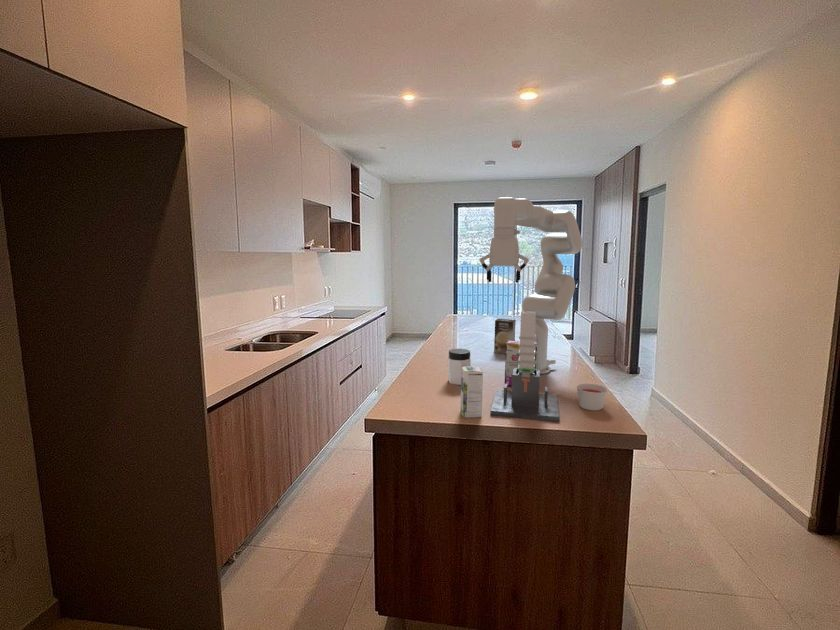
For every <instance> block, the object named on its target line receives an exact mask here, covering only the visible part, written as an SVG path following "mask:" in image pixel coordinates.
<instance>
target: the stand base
mask: <svg viewBox="0 0 840 630" xmlns="http://www.w3.org/2000/svg"><path fill="white" fill-rule="evenodd" d="M518 372H519V371H518V368H514V370H513V374H512V386H511V390H508V386H507V384H505V383H504V387H503V390H501V389H496V390H495V395H494V399H493V402H492V404H491V408H490V416H495V417H504V418H513V419H514V418H516V419H523V420H535V421H544V422H545V421H547V422H555V423H557V422H558V423H560V412H559V404H558V395H557V394H552V393H551V394H549V393H548V391H549V390H548V388H549V387H548V386H544V393H542V392H541V393H540V379H541V376H540V375H541V374H540V370H538V369H535V372H534V375H530V371H522V375H520V374H518Z"/></svg>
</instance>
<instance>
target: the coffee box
mask: <svg viewBox="0 0 840 630" xmlns="http://www.w3.org/2000/svg"><path fill="white" fill-rule="evenodd" d="M516 322H517V320H516V319H506V318H496V319H495V320H494V337H493V338H494V339H493V341H494V344H493V353H494V354H503V355H506V343H507V341H516Z"/></svg>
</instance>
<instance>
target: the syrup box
mask: <svg viewBox="0 0 840 630" xmlns="http://www.w3.org/2000/svg"><path fill="white" fill-rule="evenodd" d="M483 379H484V371H483V370H482V369H481V368H480V367H479V366H473V365H472V366H466V367H462V375H461V385H460V413H461V416H462V418H465V419H468V418H482V416H483V415H482V411H483V410H482V409H483V382H484V380H483Z"/></svg>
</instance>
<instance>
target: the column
mask: <svg viewBox="0 0 840 630" xmlns="http://www.w3.org/2000/svg"><path fill="white" fill-rule="evenodd" d="M535 321H536V312H526V311H523V310H522V311H521V312H520V330H519V332H520V333H519V335H518V336H519V337H518V339H519V341H520V342H519V347H520V349H519V355H520V356H519V360H518V363H519V366H518V371H519V372H518V374H520V375H522V371H530V375H534V372H535V365H534V364H535V358H534V356H535V350H534V348H535V347H536V342H535V340H536V335H535Z"/></svg>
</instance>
